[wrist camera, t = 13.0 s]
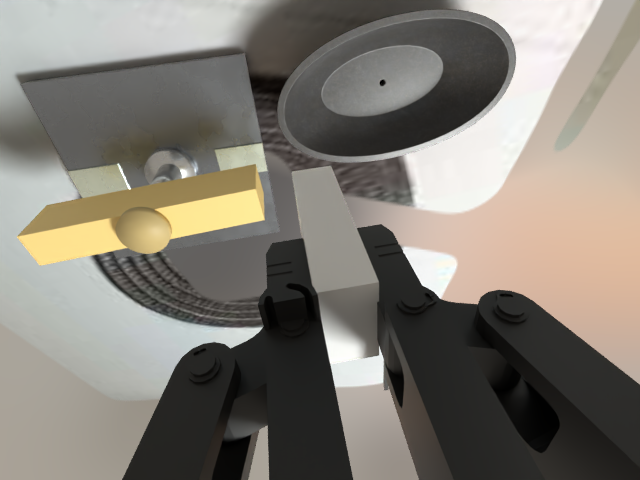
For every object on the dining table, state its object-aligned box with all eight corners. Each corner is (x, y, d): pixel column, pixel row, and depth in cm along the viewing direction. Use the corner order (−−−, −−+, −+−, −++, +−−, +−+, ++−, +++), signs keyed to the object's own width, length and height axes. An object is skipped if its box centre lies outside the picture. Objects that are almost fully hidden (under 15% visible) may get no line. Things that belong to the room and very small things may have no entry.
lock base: (27, 81, 33) (-22, 101, 27) (244, 52, 34) (242, 66, 28) (119, 252, 45) (99, 292, 39) (279, 226, 46) (282, 261, 40)
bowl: (476, 111, 41) (507, 128, 36) (289, 158, 41) (294, 182, 36) (485, -17, 34) (525, -18, 29) (258, 39, 34) (258, 49, 29)
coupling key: (254, 158, 32) (254, 188, 28) (264, 197, 35) (266, 229, 30) (43, 200, 32) (6, 237, 27) (68, 236, 34) (38, 276, 29)
